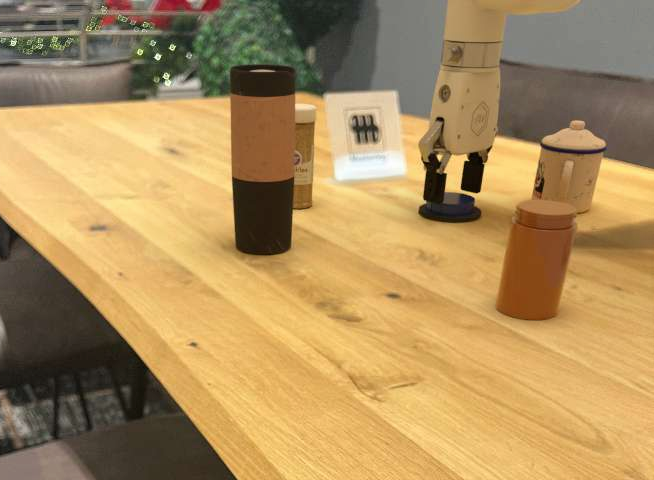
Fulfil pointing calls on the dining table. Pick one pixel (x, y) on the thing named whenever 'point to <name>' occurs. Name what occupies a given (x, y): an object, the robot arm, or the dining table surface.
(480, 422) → the dining table surface
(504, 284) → the jar
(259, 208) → the travel mug
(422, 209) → the coaster
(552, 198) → the teacup with lid
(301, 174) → the sprinkles bottle
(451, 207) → the lid
